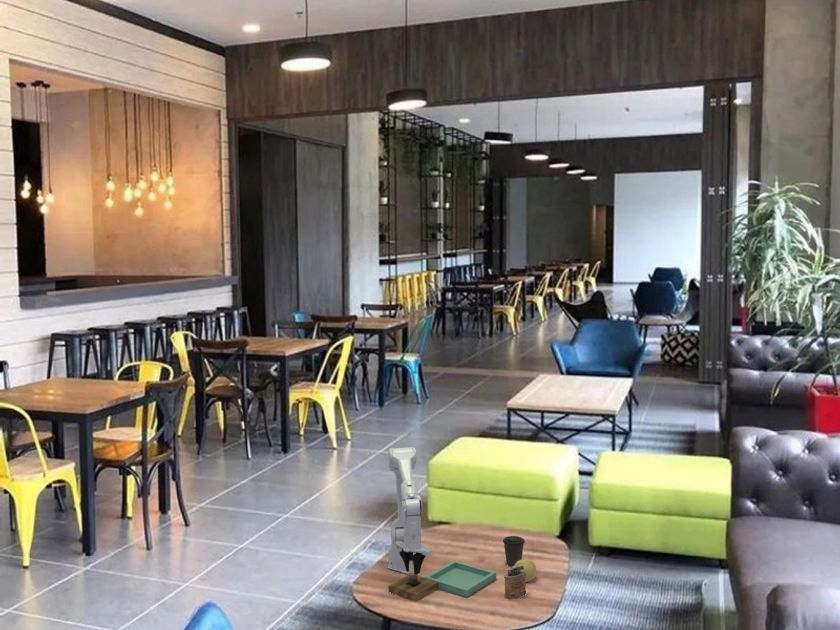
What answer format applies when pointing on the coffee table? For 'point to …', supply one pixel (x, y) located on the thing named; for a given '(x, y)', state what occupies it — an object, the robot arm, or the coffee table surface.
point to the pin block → (413, 588)
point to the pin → (412, 573)
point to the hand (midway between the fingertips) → (413, 572)
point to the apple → (527, 568)
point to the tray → (462, 578)
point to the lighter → (515, 582)
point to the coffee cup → (513, 549)
